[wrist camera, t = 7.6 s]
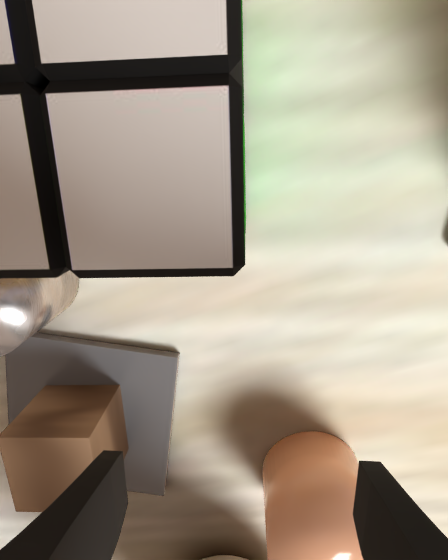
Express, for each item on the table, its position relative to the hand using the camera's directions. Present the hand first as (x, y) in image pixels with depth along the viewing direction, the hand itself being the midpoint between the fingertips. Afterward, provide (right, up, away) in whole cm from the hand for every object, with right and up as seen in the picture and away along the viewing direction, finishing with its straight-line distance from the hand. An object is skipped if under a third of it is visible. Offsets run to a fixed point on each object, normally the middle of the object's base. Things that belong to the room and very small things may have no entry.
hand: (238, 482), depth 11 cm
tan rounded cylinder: (+5, -6, +12) cm, 14 cm away
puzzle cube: (-4, +14, +7) cm, 16 cm away
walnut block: (-9, -2, +11) cm, 14 cm away
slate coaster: (-9, -2, +12) cm, 15 cm away
